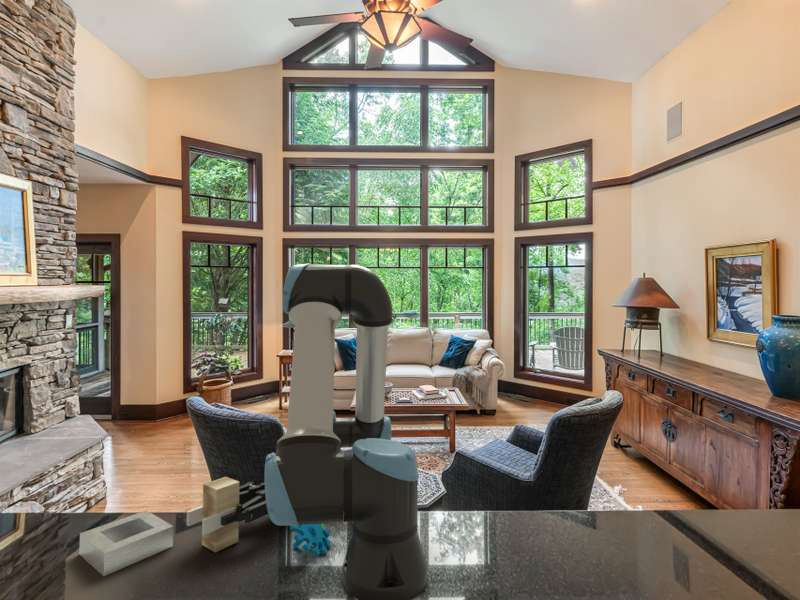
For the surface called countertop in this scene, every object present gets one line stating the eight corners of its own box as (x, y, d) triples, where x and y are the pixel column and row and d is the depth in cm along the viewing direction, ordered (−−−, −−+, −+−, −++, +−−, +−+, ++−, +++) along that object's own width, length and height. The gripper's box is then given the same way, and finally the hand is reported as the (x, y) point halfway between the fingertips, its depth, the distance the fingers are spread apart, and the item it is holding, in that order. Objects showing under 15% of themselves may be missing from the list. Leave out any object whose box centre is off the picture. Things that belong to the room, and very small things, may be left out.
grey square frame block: (172, 546, 83) (173, 526, 83) (103, 576, 73) (104, 553, 74) (145, 529, 90) (146, 510, 90) (79, 554, 80) (79, 533, 80)
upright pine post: (238, 541, 85) (239, 481, 85) (215, 552, 80) (216, 489, 81) (224, 534, 87) (225, 476, 88) (201, 544, 83) (203, 484, 84)
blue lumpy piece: (314, 560, 76) (286, 512, 79) (293, 580, 76) (265, 532, 80) (343, 538, 86) (316, 497, 90) (323, 556, 86) (298, 515, 90)
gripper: (316, 510, 93) (221, 558, 75) (266, 491, 104) (171, 529, 85) (316, 476, 94) (222, 515, 75) (267, 461, 104) (172, 492, 85)
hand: (195, 522), depth 80 cm, fingers closed on upright pine post, 5 cm apart
